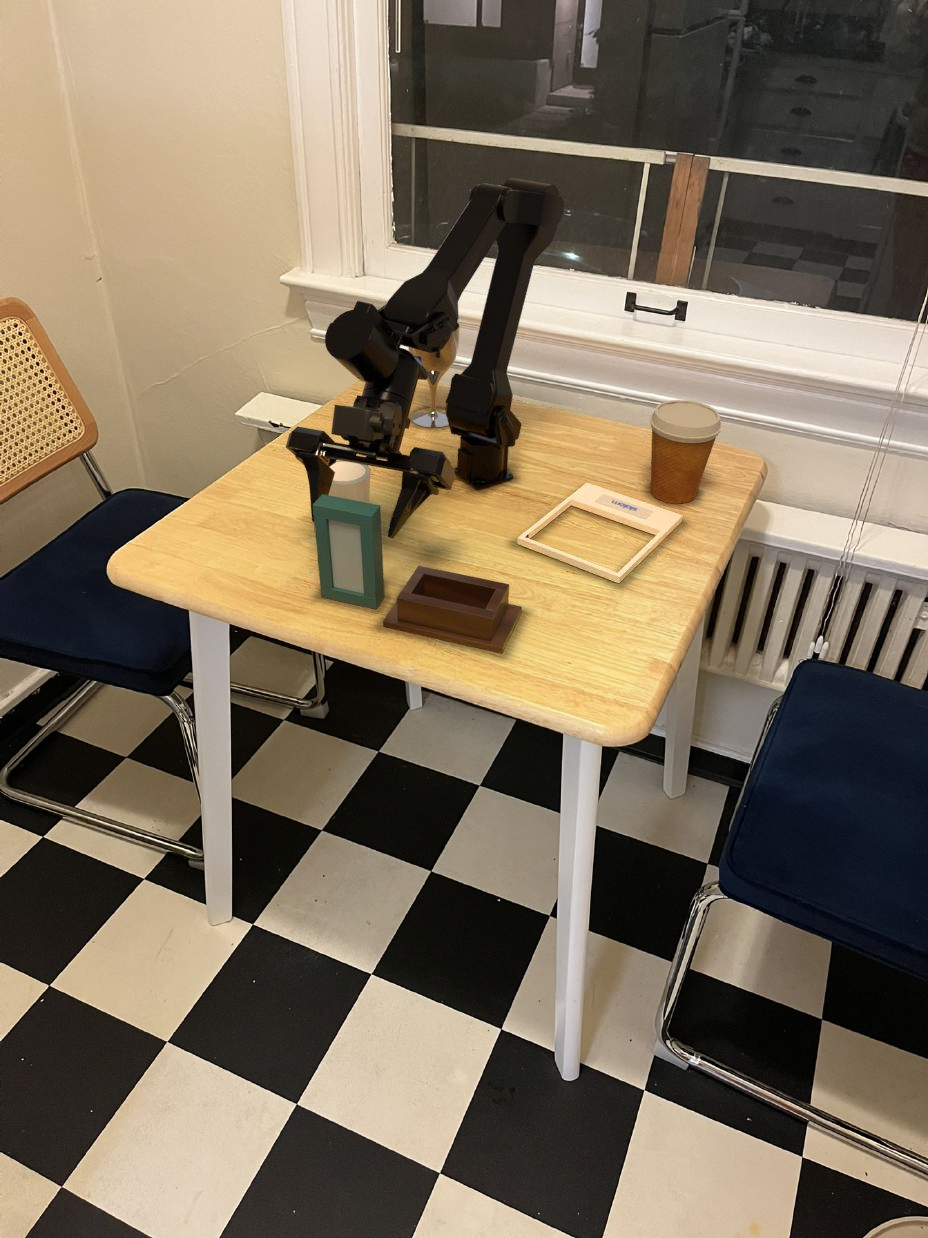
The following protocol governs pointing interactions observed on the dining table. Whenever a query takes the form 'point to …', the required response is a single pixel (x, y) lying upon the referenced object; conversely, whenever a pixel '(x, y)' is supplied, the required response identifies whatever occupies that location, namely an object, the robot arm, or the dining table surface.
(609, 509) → the photo frame
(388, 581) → the dining table surface
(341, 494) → the beige cup
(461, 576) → the frame holder
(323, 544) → the picture frame
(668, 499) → the disposable coffee cup
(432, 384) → the wine glass
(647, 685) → the dining table surface
